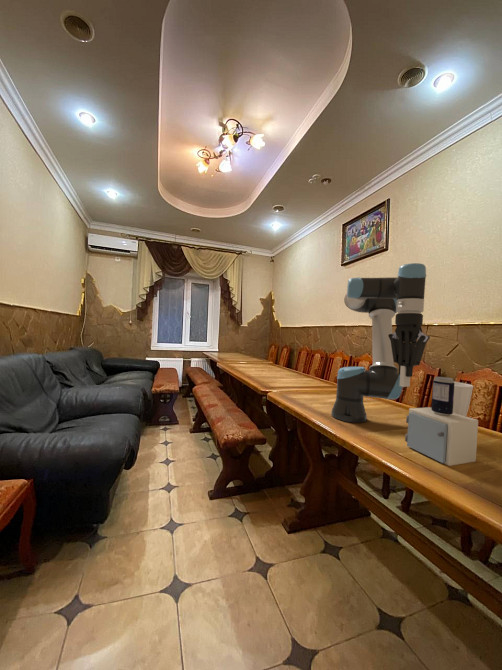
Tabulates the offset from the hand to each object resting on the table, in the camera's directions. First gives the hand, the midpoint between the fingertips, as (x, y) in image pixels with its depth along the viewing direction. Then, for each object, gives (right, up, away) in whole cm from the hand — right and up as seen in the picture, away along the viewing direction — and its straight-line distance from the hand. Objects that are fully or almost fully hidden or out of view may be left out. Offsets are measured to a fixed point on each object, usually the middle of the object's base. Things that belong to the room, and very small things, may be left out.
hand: (404, 386), depth 83 cm
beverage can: (+13, -10, +2) cm, 17 cm away
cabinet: (+13, -23, +2) cm, 26 cm away
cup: (+26, -23, +14) cm, 37 cm away
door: (+6, -22, 0) cm, 23 cm away
